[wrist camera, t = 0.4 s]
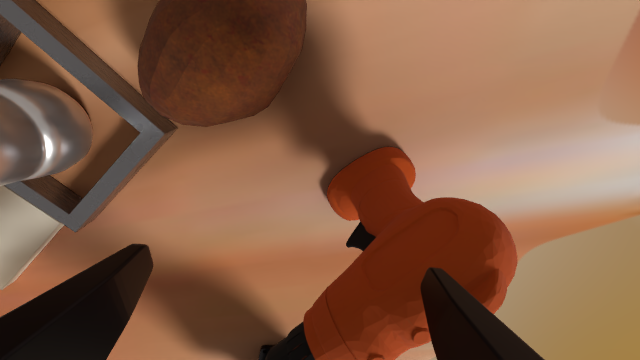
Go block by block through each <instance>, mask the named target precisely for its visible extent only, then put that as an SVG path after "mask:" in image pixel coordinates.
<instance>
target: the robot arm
mask: <svg viewBox="0 0 640 360" xmlns="http://www.w3.org/2000/svg"><path fill="white" fill-rule="evenodd" d="M152 269H153V261H152V257H151V253H150V250H149V247H148V246H147V245H145V244H131V245H129V246H127V247H126V248H124V249H122V250H120V251H118V252H117V253H115V254H113V255H111V256H109V257H108V258H106V259H104V260H102V261H100V262H99V263H97V264H95V265H93V266H91V267H90V268H88V269H86V270H84V271H82V272H81V273H79V274H77V275H75V276H73V277H72V278H70V279H68V280H66V281H65V282H63V283H61V284H59V285H57V286H56V287H54V288H52V289H50V290H48V291H47V292H45V293H43V294H41V295H39V296H38V297H36V298H34V299H32V300H30V301H29V302H27V303H25V304H23V305H21V306H20V307H18V308H16V309H14V310H12V311H11V312H9V313H7V314H5V315H3V316H2V317H0V360H106V359H107V357H108V356H109V354H110V352H111V350H112V349H113V347H114V345H115V344H116V342H117V340H118V338H119V337H120V335H121V333H122V332H123V330H124V328H125V326H126V325H127V323H128V321H129V319H130V317H131V315H132V313H133V311H134V309H135V307H136V305H137V302H138V300H139V298H140V296H141V294H142V291H143V289H144V287H145V285H146V283H147V281H148V278H149V276H150V274H151V272H152ZM420 290H421V295H422V300H423V305H424V310H425V314H426V319H427V324H428V329H429V333H430V337H431V341H432V344H433V348H434V351H435V354H436V357H437V360H544V359H543V358H542V357H541V356H540V355H539V354H537V353H536V352H535V351H534V350H533V349H532V348H531V347H530V346H528V345H527V344H526V343H525V342H524V341H523V340H522V339H521V338H520V337H518V336H517V335H516V334H515V333H514V332H513V331H512V330H510V329H509V328H508V327H507V326H506V325H505V324H504V323H503V322H501V321H500V320H499V319H498V318H497V317H496V316H495V315H494V314H493V313H491V312H490V311H489V310H488V309H487V308H486V307H485V306H484V305H482V304H481V303H480V302H479V301H478V300H477V299H476V298H475V297H473V296H472V295H471V294H470V293H469V292H468V291H467V290H466V289H465V288H463V287H462V286H461V285H460V284H459V283H458V282H457V281H456V280H454V279H453V278H452V277H451V276H450V275H449V274H448V273H447V272H445V271H444V270H443V269H441V268H435V267H429V268H428V269H427V271H426V273H425V275H424V278H423V280H422V282H421V286H420ZM272 347H273V346H267V345H264V346H262V347H261V350H260V355H259V360H265V358H266V356H267V354H268V352H269V350H270V349H271V348H272Z"/></svg>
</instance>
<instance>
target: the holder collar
mask: <svg viewBox="0 0 640 360" xmlns="http://www.w3.org/2000/svg"><path fill="white" fill-rule="evenodd" d="M21 32H22V33H23V34H24V35H26V36H27V37H28V38H29V39H30V40H32V41H33V42H34V43H35V44H36V45H37V46H39V47H40V48H41V49H42V50H43V51H45V52H46V53H47V54H48V55H49V56H50V57H52V58H53V59H54V60H55V61H56V62H58V63H59V64H60V65H61V66H62V67H63V68H65V69H66V70H67V71H68V72H69V73H71V74H72V75H73V76H74V77H75V78H76V79H78V80H79V81H80V82H81V83H82V84H84V85H85V86H86V87H87V88H88V89H89V90H91V91H92V92H93V93H94V94H95V95H97V96H98V97H99V98H100V99H101V100H102V101H104V102H105V103H106V104H107V105H108V106H110V107H111V108H112V109H113V110H114V111H115V112H117V113H118V114H119V115H120V116H121V117H123V118H124V119H125V120H126V121H127V122H128V123H130V124H131V125H132V126H133V127H134V128H136V129H137V130H138V131H139V132H140V134H139V135H138V136H137V137H136V139H135V140H134V141H133V142H132V143H131V144H130V145H129V147H128V148H127V149H126V150H125V151H124V152H123V154H122V155H121V156H120V157H119V158H118V159H117V160H116V162H115V163H114V164H113V165H112V166H111V167H110V168H109V170H108V171H107V172H106V173H105V174H104V175H103V176H102V178H101V179H100V180H99V181H98V182H97V183H96V184H95V186H94V187H93V188H92V189H91V190H90V191H89V193H88V194H87V195H86V196H85V197H84V198H83V199H82V198H81V197H79V196H78V195H76V194H75V193H74V192H72V191H71V190H69V189H68V188H66V187H65V186H64V185H62V184H61V183H59V182H58V181H57V180H55V179H54V178H52V177H51V176H50V175H48V176H44V177H40V178H34V179H28V180H22V181H17V182H13V183H10V184H6V185H5V186H6V187H8V188H9V189H11V190H12V191H14V192H15V193H17V194H18V195H20V196H21V197H23V198H24V199H26V200H27V201H29V202H30V203H32V204H33V205H35V206H37V207H38V208H40V209H41V210H43V211H44V212H46V213H47V214H49V215H50V216H52V217H53V218H55V219H56V220H58V221H59V222H61V223H62V224H64V225H65V226H67V227H68V228H70V229H71V230H73V231H74V232H77V231H78V230H80V229H81V228H82V227H84V226H85V225H87V224H88V223H90V222H91V221H93V220H94V219H95V218H96V217H97V216H98V215H99V214H100V213H101V211H102V210H103V209H104V208H105V207H106V206H107V205H108V204H109V203H110V202H111V201H112V199H113V198H114V197H115V196H116V195H117V194H118V193H119V192H120V191H121V190H122V189H123V187H124V186H125V185H126V184H127V183H128V182H129V181H130V180H131V179H132V178H133V177H134V175H135V174H136V173H137V172H138V171H139V170H140V169H141V168H142V167H143V166H144V165H145V163H146V162H147V161H148V160H149V159H150V158H151V157H152V156H153V155H154V154H155V153H156V151H157V150H158V149H159V148H160V147H161V146H162V145H163V144H164V143H165V142H166V141H167V140H168V138H169V137H170V136H171V135H172V134H173V133H174V132H175V131H176V130H177V129H178V128H177V127H176V126H175V125H174V124H172V123H171V122H170V121H169V120H168V119H167V118H166V117H164V116H162V115H160V114H159V113H158V112H157V111H156V110H155V109H154V108H153V107H152V106H151V105H150V104H149V103H148V102H147V101H146V100H145V98H143V97H142V96H141V95H140V94H139V93H138V92H137V91H136V90H134V89H133V88H132V87H131V86H130V85H129V84H128V83H127V82H126V81H124V80H123V79H122V78H121V77H120V76H119V75H118V74H117V73H115V72H114V71H113V70H112V69H111V68H110V67H109V66H108V65H107V64H105V63H104V62H103V61H102V60H101V59H100V58H99V57H98V56H96V55H95V54H94V53H93V52H92V51H91V50H90V49H89V48H88V47H86V46H85V45H84V44H83V43H82V42H81V41H80V40H79V39H77V38H76V37H75V36H74V35H73V34H72V33H71V32H70V31H69V30H67V29H66V28H65V27H64V26H63V25H62V24H61V23H60V22H58V21H57V20H56V19H55V18H54V17H53V16H52V15H51V14H50V13H48V12H47V11H46V10H45V9H44V8H43V7H42V6H41V5H39V4H38V3H37V2H36V1H35V0H0V66H1V64H2V62H3V61H4V59H5V57H6V56H7V54H8V53H9V51H10V49H11V48H12V46H13V45H14V43H15V41H16V40H17V38H18V37H19V35H20V33H21Z"/></svg>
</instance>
